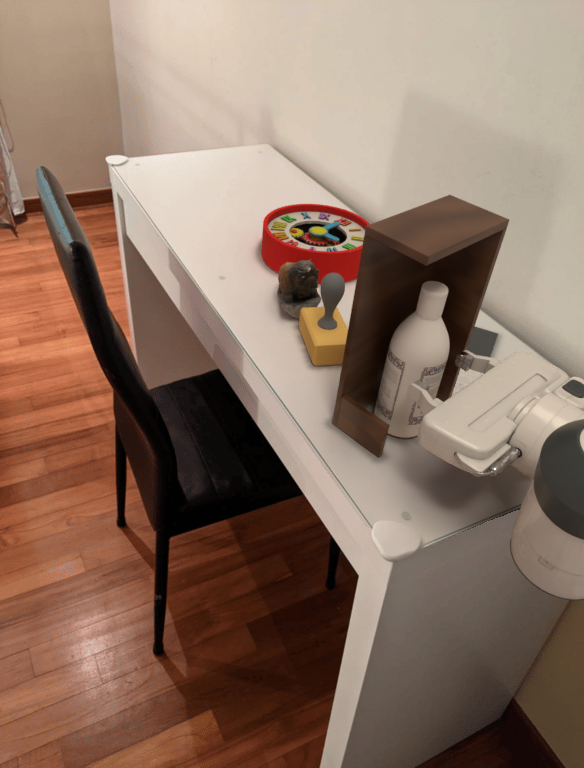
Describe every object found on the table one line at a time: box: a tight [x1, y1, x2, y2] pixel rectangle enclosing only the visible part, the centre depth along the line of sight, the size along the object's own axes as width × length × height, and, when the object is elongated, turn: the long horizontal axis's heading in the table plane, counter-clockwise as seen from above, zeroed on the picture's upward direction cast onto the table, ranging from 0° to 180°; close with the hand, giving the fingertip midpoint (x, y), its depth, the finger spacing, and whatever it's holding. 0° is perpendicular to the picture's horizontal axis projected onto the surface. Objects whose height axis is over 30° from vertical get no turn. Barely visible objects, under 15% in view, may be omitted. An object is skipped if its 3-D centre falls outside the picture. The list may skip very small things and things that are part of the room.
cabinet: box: [331, 194, 510, 458], centre depth 71 cm, size 8×15×27 cm, turn 134°
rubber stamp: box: [298, 273, 348, 367], centre depth 87 cm, size 10×6×12 cm, turn 12°
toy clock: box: [260, 203, 371, 285], centre depth 110 cm, size 20×6×20 cm
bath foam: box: [373, 281, 450, 439], centre depth 73 cm, size 7×7×20 cm
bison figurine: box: [277, 259, 322, 318], centre depth 96 cm, size 12×7×10 cm, turn 8°
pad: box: [467, 325, 499, 357], centre depth 95 cm, size 9×9×1 cm
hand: (436, 371), depth 72 cm, fingers open, 8 cm apart
